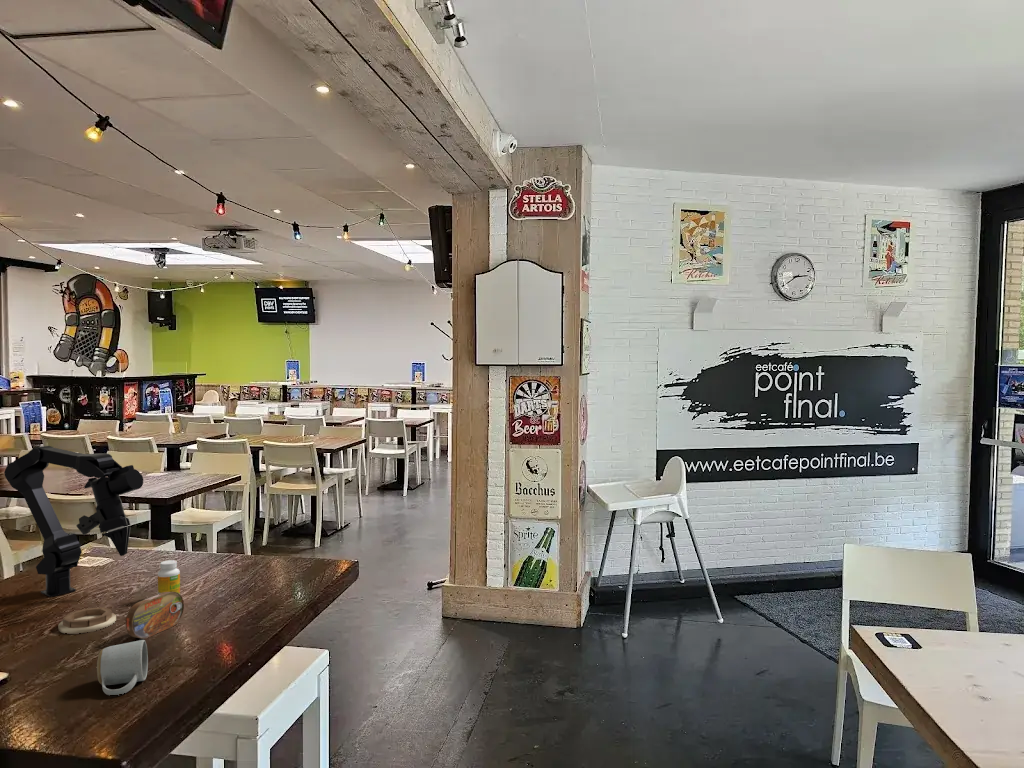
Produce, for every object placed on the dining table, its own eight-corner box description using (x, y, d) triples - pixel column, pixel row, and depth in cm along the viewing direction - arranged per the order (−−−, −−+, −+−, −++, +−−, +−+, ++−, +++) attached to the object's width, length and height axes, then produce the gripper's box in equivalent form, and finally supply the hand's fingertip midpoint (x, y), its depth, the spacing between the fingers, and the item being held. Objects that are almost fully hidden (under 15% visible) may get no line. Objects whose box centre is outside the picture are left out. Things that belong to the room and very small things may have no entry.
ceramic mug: (103, 677, 143) (102, 639, 143) (148, 670, 146) (147, 633, 145) (92, 701, 133) (91, 661, 133) (141, 693, 136) (140, 654, 135)
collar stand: (49, 626, 171) (49, 616, 171) (101, 612, 180) (101, 602, 180) (72, 637, 164) (72, 627, 164) (125, 622, 173) (125, 612, 173)
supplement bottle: (171, 601, 189) (170, 565, 188) (153, 600, 190) (152, 564, 189) (184, 595, 194) (183, 559, 194) (167, 594, 195) (166, 558, 195)
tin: (133, 644, 160) (132, 607, 160) (123, 642, 161) (122, 605, 161) (185, 621, 174) (184, 587, 174) (175, 620, 175) (174, 586, 175)
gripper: (78, 509, 197) (93, 564, 196) (69, 508, 180) (86, 567, 179) (122, 496, 202) (137, 549, 201) (118, 494, 185) (134, 551, 184)
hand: (123, 554), depth 191 cm, fingers open, 9 cm apart
